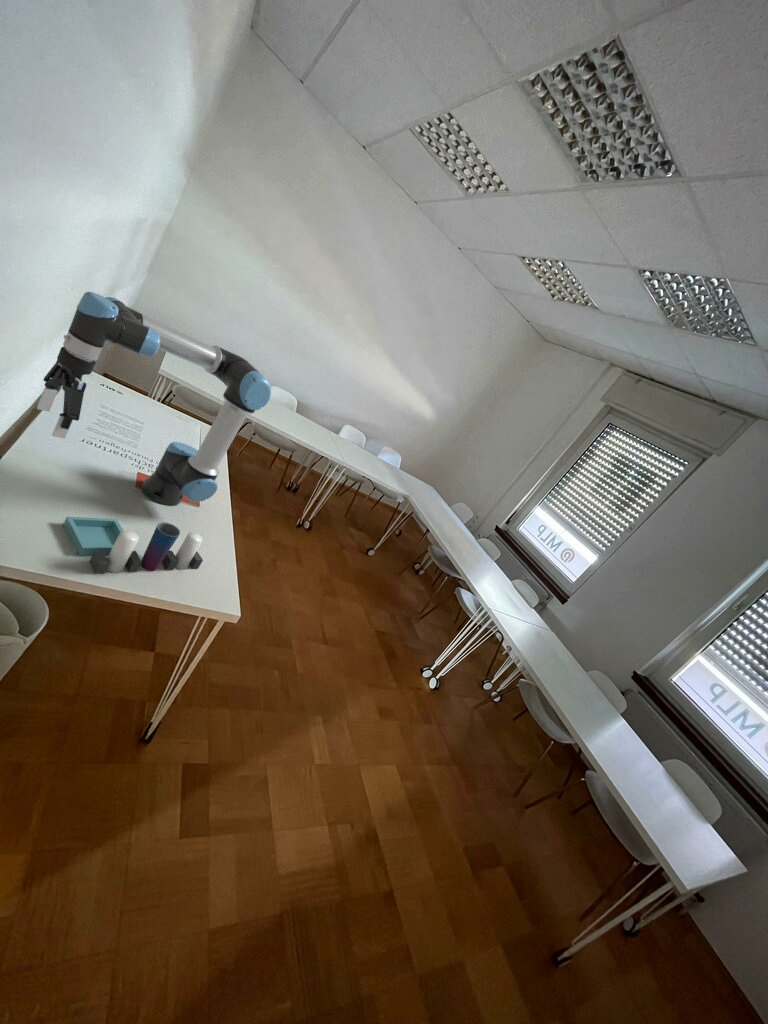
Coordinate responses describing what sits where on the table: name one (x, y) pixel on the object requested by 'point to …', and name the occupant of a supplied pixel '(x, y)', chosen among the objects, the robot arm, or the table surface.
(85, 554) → the tray
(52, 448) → the table surface
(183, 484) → the robot arm
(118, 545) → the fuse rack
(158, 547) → the cup
